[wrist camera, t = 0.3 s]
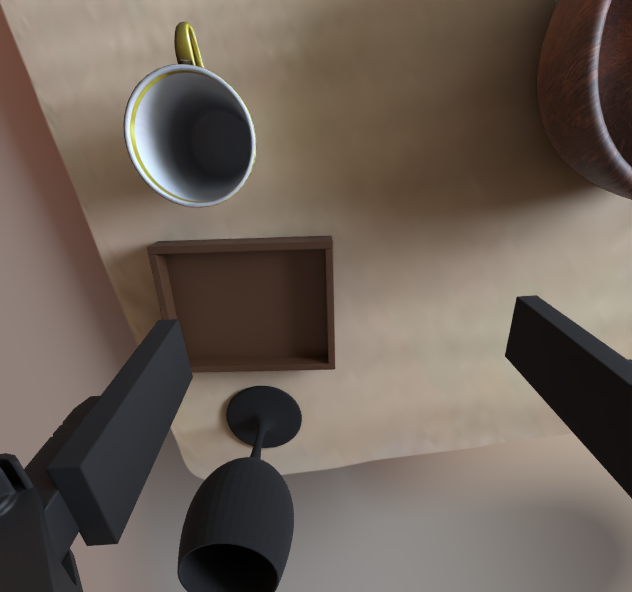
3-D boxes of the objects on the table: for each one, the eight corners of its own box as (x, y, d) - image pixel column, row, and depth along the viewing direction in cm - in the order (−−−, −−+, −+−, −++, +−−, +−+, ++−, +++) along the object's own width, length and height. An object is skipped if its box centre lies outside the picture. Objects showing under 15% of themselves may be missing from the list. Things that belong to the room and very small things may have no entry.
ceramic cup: (274, 195, 38) (258, 208, 29) (181, 195, 38) (135, 207, 29) (268, 52, 33) (247, 11, 24) (162, 52, 33) (101, 11, 24)
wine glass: (239, 451, 51) (191, 619, 33) (216, 392, 47) (147, 544, 29) (309, 439, 50) (302, 606, 32) (291, 378, 46) (270, 527, 28)
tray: (158, 241, 40) (146, 247, 37) (332, 235, 39) (332, 241, 37) (182, 360, 46) (173, 372, 43) (334, 357, 45) (335, 369, 43)
